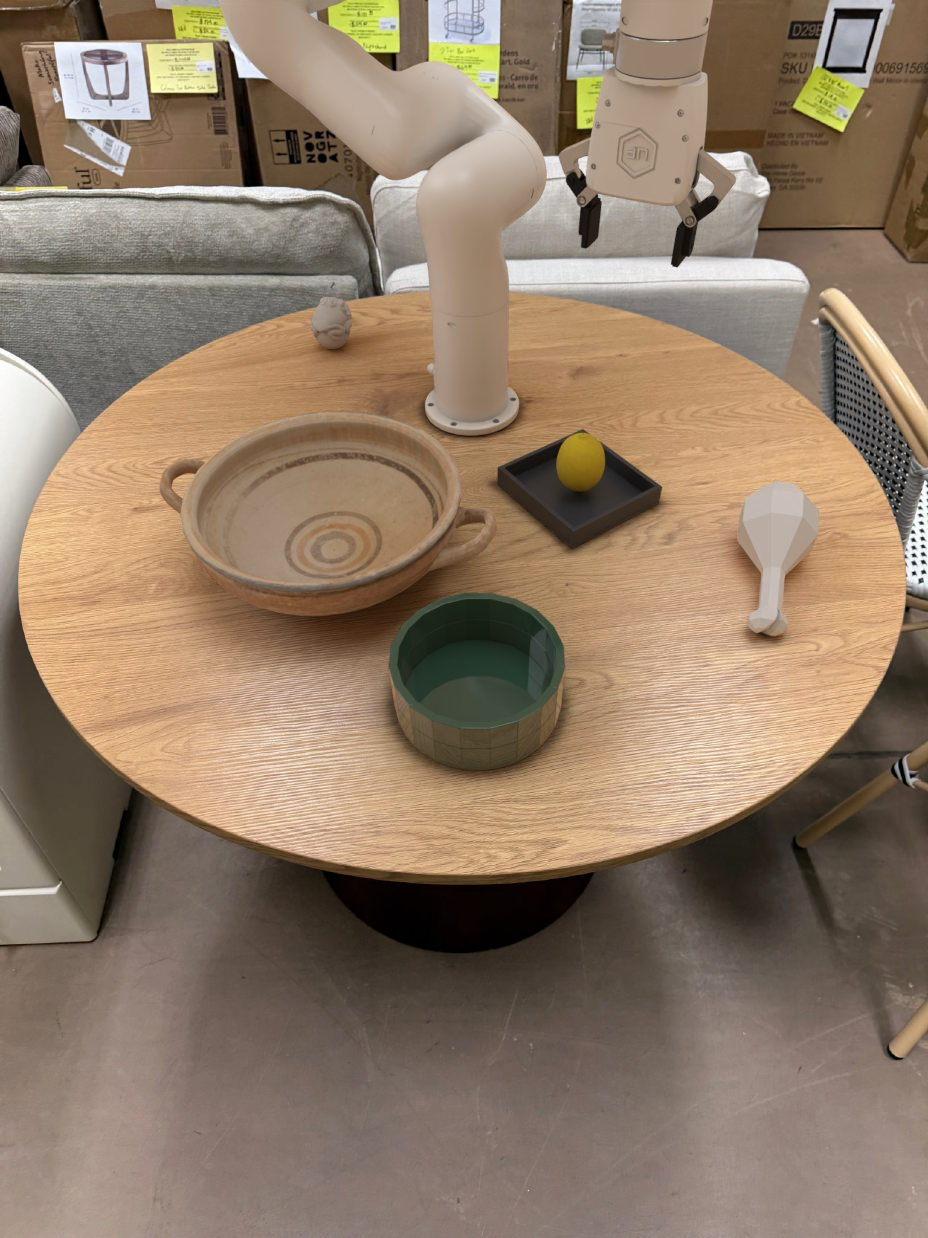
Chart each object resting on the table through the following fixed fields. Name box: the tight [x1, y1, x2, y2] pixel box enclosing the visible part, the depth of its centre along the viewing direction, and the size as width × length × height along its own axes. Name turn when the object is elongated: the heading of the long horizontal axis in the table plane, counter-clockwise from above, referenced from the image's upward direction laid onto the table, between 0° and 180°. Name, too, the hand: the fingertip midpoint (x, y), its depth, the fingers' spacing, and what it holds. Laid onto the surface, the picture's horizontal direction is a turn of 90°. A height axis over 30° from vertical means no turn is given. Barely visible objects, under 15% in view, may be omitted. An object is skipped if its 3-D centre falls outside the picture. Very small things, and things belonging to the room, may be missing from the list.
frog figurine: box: [310, 296, 353, 350], centre depth 119 cm, size 6×7×7 cm
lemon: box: [556, 433, 605, 492], centre depth 94 cm, size 6×6×8 cm
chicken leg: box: [736, 480, 820, 637], centre depth 84 cm, size 8×18×8 cm, turn 165°
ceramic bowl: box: [159, 410, 498, 617], centre depth 87 cm, size 37×29×10 cm
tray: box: [496, 428, 663, 550], centre depth 96 cm, size 14×13×3 cm
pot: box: [388, 592, 566, 771], centre depth 75 cm, size 16×16×6 cm
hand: (633, 252), depth 83 cm, fingers open, 9 cm apart
